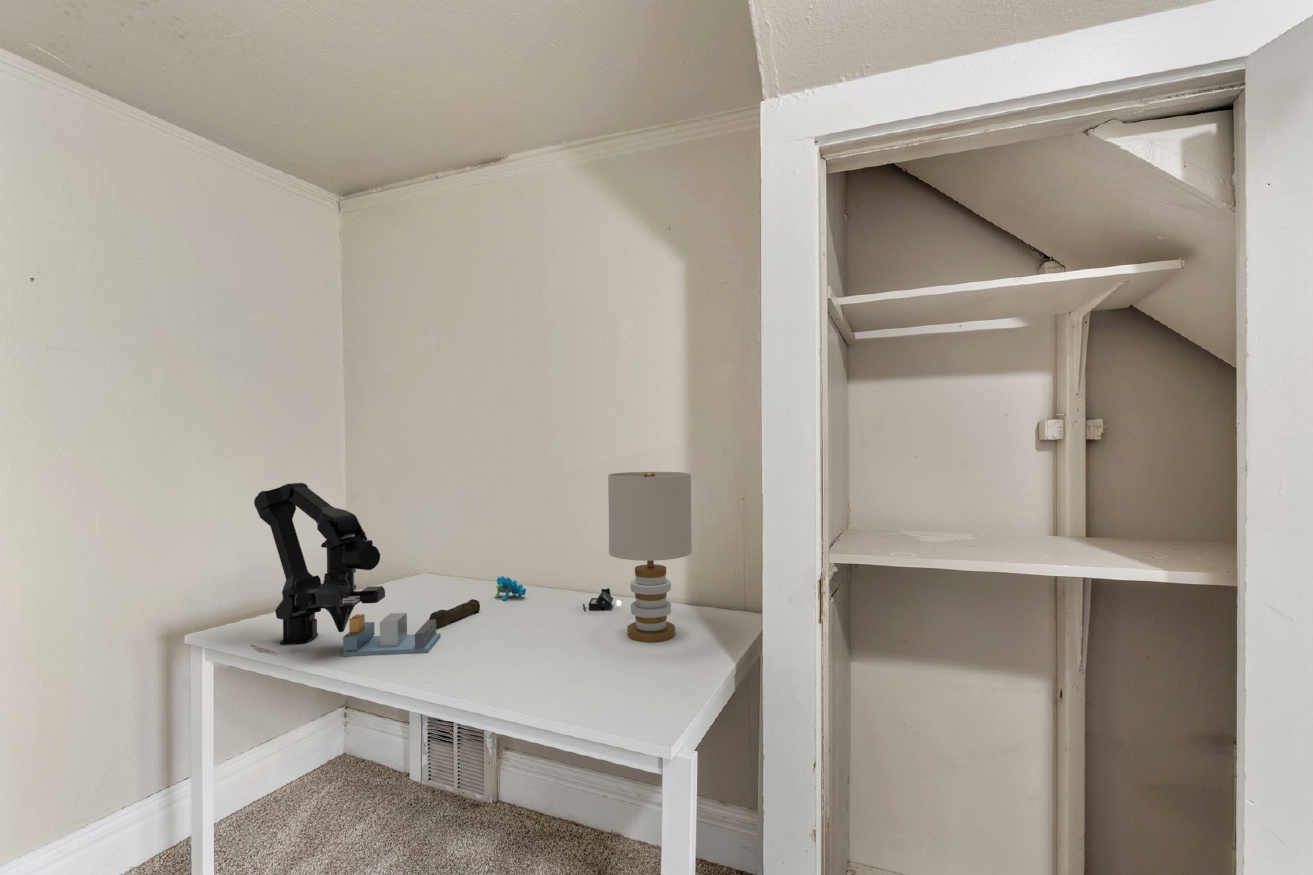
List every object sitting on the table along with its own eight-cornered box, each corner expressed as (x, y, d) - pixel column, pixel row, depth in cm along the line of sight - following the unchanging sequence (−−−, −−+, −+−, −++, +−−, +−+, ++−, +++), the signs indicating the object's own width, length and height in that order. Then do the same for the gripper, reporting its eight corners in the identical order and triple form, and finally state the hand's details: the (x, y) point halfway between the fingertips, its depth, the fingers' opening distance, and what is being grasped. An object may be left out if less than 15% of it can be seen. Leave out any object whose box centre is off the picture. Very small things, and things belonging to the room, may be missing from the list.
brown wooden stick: (469, 611, 175) (469, 595, 175) (480, 613, 173) (480, 597, 173) (420, 631, 157) (420, 614, 157) (432, 633, 156) (431, 615, 156)
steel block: (380, 647, 142) (379, 621, 142) (390, 637, 149) (390, 613, 149) (397, 646, 142) (397, 621, 142) (407, 636, 149) (406, 612, 149)
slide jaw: (343, 650, 139) (343, 623, 139) (361, 635, 150) (361, 610, 150) (356, 650, 139) (356, 623, 139) (374, 634, 150) (374, 609, 150)
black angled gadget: (623, 617, 169) (623, 597, 169) (569, 617, 169) (569, 597, 169) (627, 602, 184) (626, 584, 184) (578, 602, 184) (577, 584, 184)
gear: (533, 592, 188) (513, 574, 183) (524, 609, 185) (503, 590, 180) (510, 592, 195) (490, 574, 190) (501, 608, 191) (480, 590, 186)
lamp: (685, 651, 140) (683, 475, 140) (599, 645, 144) (597, 474, 144) (697, 623, 161) (696, 469, 161) (621, 619, 165) (620, 469, 165)
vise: (343, 656, 139) (343, 636, 139) (362, 640, 150) (361, 622, 150) (428, 652, 141) (428, 633, 141) (440, 637, 152) (440, 619, 152)
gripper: (281, 575, 135) (282, 644, 135) (368, 572, 137) (369, 641, 137) (305, 565, 146) (306, 629, 146) (385, 562, 148) (386, 626, 148)
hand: (341, 631), depth 144 cm, fingers closed
